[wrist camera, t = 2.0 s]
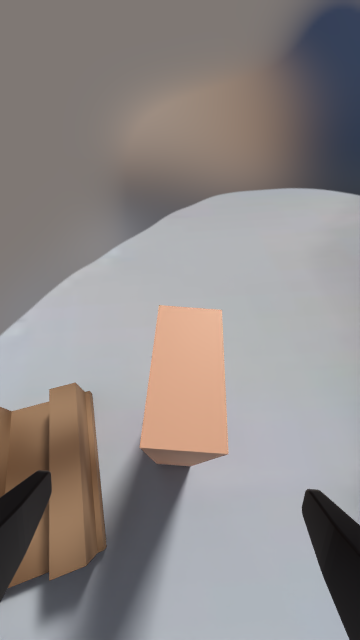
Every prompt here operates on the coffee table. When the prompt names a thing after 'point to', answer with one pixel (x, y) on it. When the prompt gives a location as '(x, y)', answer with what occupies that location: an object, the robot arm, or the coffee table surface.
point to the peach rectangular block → (186, 389)
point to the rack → (57, 479)
